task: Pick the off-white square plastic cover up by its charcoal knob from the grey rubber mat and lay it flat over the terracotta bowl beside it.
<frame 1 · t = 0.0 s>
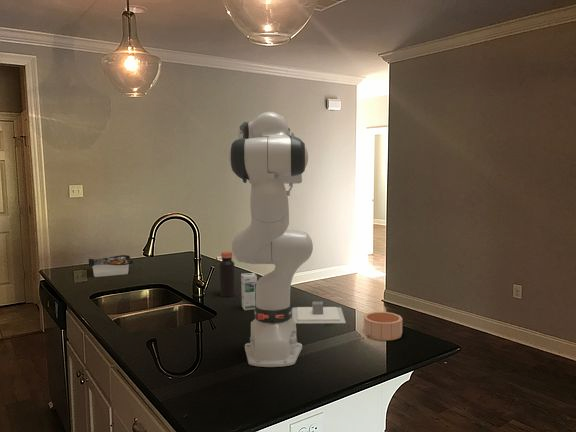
hand: (275, 195, 184), 48 cm above the worktop, tool pointing down, fingers open, 8 cm apart
syrup box: (249, 308, 204), on the worktop
food packaging: (110, 273, 274), on the worktop
bottle: (227, 295, 224), on the worktop
bowl: (382, 333, 171), on the worktop
cover sheet: (317, 314, 190), point 1 cm above the worktop, touching mat
mat: (317, 317, 190), on the worktop
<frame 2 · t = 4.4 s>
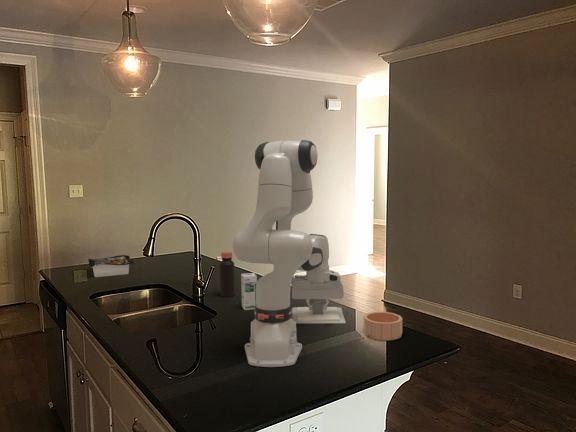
hand: (317, 309, 190), 3 cm above the worktop, tool pointing down, fingers closed on cover sheet, 4 cm apart
cover sheet: (317, 314, 190), point 1 cm above the worktop, touching gripper, mat
everything else where it was.
when the fingers open (10 cm above the worktop, at t = 10.8 s): cover sheet drops 1 cm, resting on bowl.
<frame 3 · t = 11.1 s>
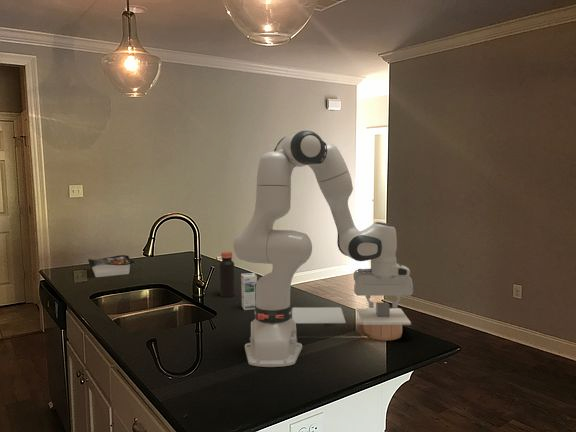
hand: (382, 307, 170), 10 cm above the worktop, tool pointing down, fingers open, 7 cm apart
cover sheet: (382, 317, 171), point 6 cm above the worktop, touching bowl
everything else where it was.
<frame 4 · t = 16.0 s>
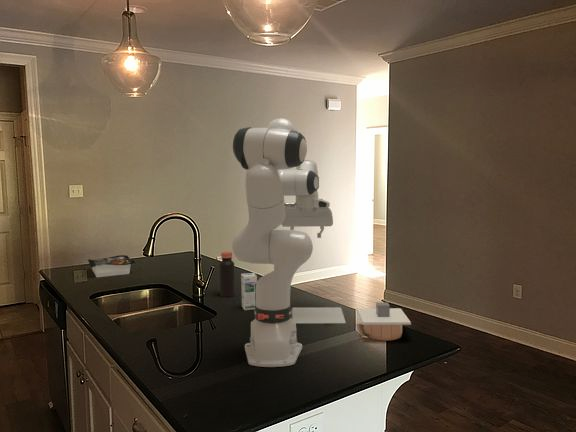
hand: (307, 237, 190), 31 cm above the worktop, tool pointing down, fingers open, 8 cm apart
nothing on the worktop moved.
at the end: cover sheet 0.2 cm off-centre on the bowl, point 6.0 cm above the bowl's base; cover sheet tilted 0°; cover sheet touching bowl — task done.
